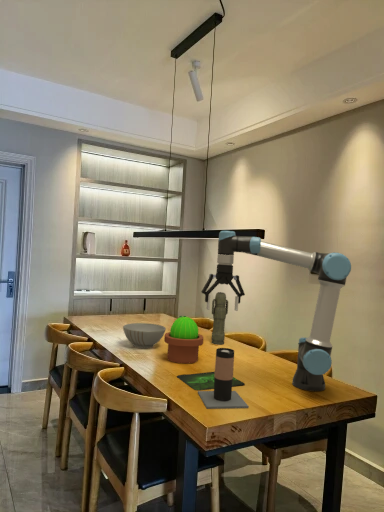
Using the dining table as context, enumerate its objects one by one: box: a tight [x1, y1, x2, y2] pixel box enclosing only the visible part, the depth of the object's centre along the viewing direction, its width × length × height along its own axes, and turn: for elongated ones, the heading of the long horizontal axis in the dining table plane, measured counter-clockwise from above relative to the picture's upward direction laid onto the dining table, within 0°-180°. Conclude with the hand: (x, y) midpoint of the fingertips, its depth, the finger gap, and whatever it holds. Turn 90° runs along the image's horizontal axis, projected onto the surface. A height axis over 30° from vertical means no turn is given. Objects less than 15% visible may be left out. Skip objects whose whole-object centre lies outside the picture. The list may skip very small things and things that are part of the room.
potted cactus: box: [163, 315, 204, 364], centre depth 218 cm, size 22×22×25 cm
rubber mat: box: [197, 390, 250, 410], centre depth 160 cm, size 17×17×1 cm
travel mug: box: [213, 347, 235, 401], centre depth 160 cm, size 8×8×20 cm
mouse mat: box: [176, 370, 245, 392], centre depth 184 cm, size 27×22×1 cm
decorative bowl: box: [122, 322, 167, 349], centre depth 244 cm, size 27×27×12 cm
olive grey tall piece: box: [211, 291, 229, 346], centre depth 266 cm, size 9×12×35 cm
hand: (222, 310), depth 179 cm, fingers open, 13 cm apart
